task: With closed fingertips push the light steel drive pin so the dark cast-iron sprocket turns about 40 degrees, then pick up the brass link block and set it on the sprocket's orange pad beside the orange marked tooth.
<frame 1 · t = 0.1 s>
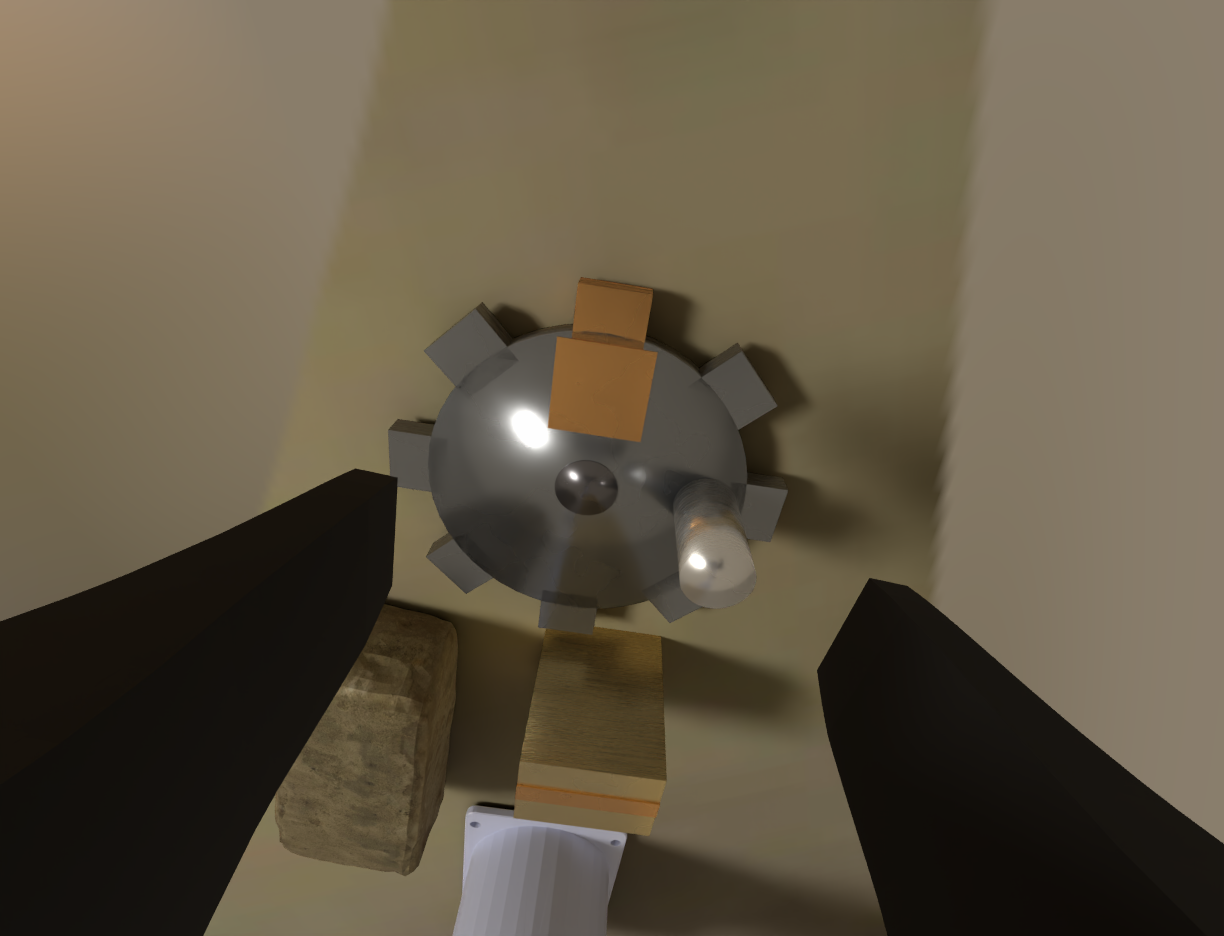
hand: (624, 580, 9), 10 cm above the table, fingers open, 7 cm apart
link: (599, 654, 24), on the table
stone block: (395, 685, 26), on the table
sprocket: (582, 512, 17), point 3 cm above the table, hinge at 0.0°
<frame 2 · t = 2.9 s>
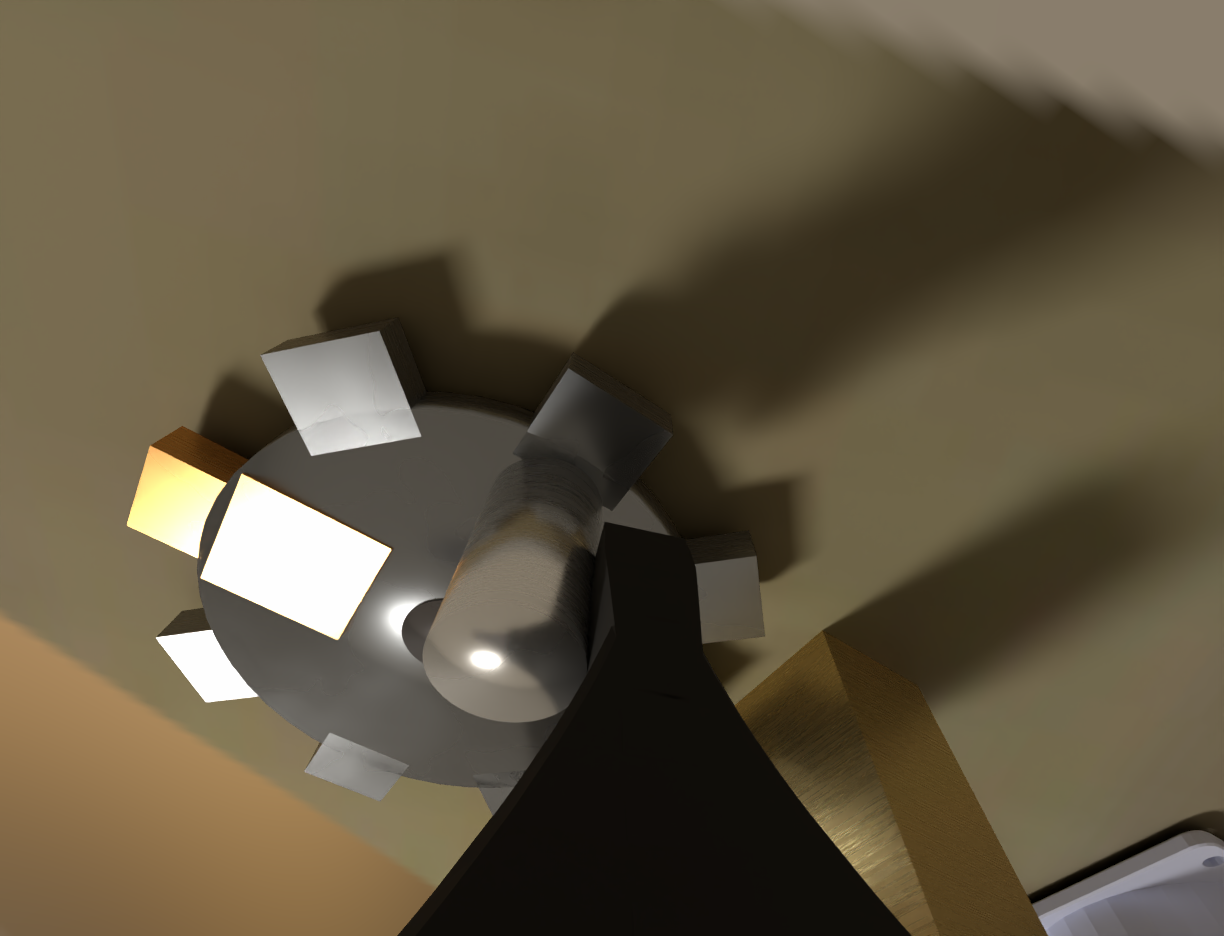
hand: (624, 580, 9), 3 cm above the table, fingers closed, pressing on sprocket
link: (803, 711, 14), on the table
sprocket: (430, 693, 11), point 3 cm above the table, hinge at 0.1°, touching gripper
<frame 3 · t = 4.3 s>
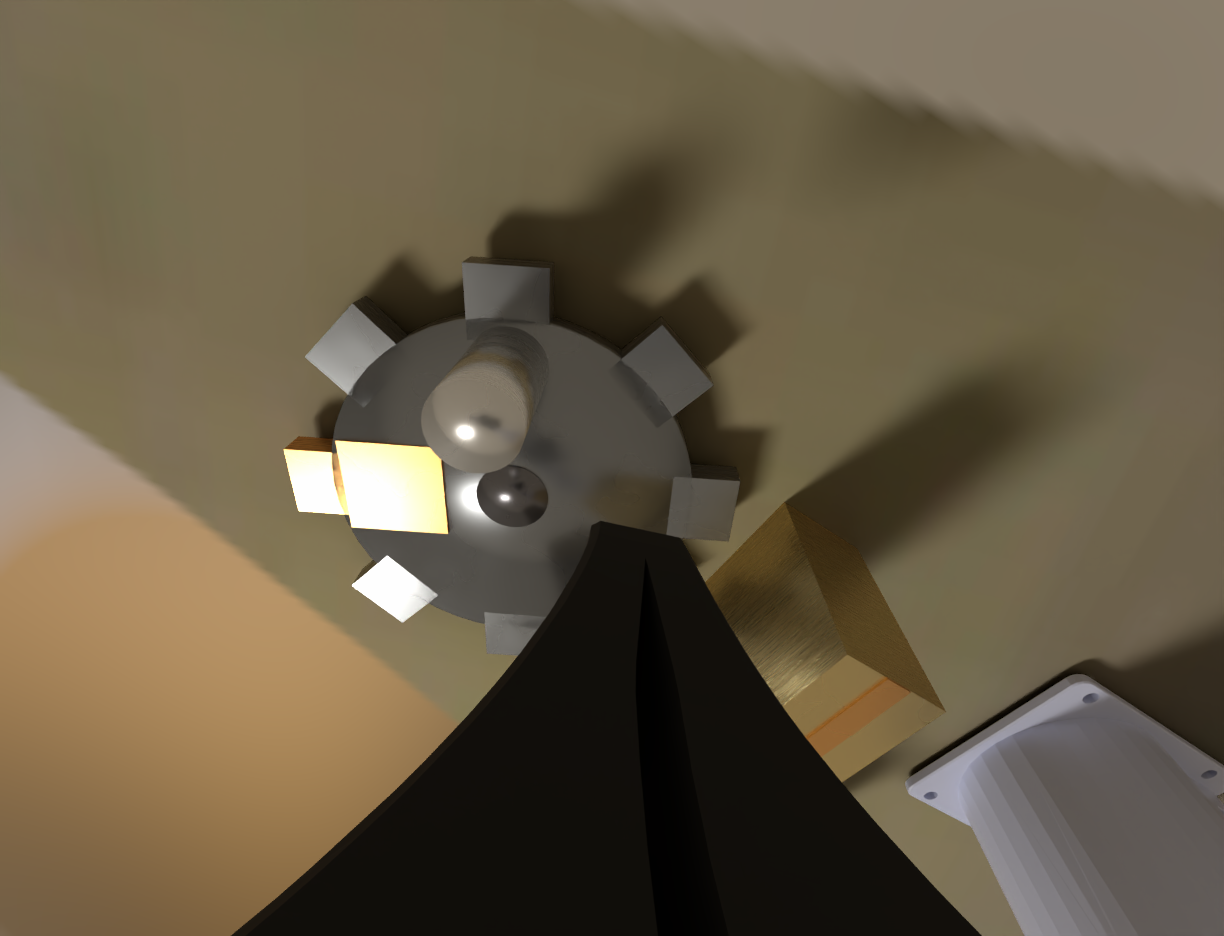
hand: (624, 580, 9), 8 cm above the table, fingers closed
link: (772, 572, 19), on the table
sprocket: (502, 525, 15), point 3 cm above the table, hinge at 30.5°
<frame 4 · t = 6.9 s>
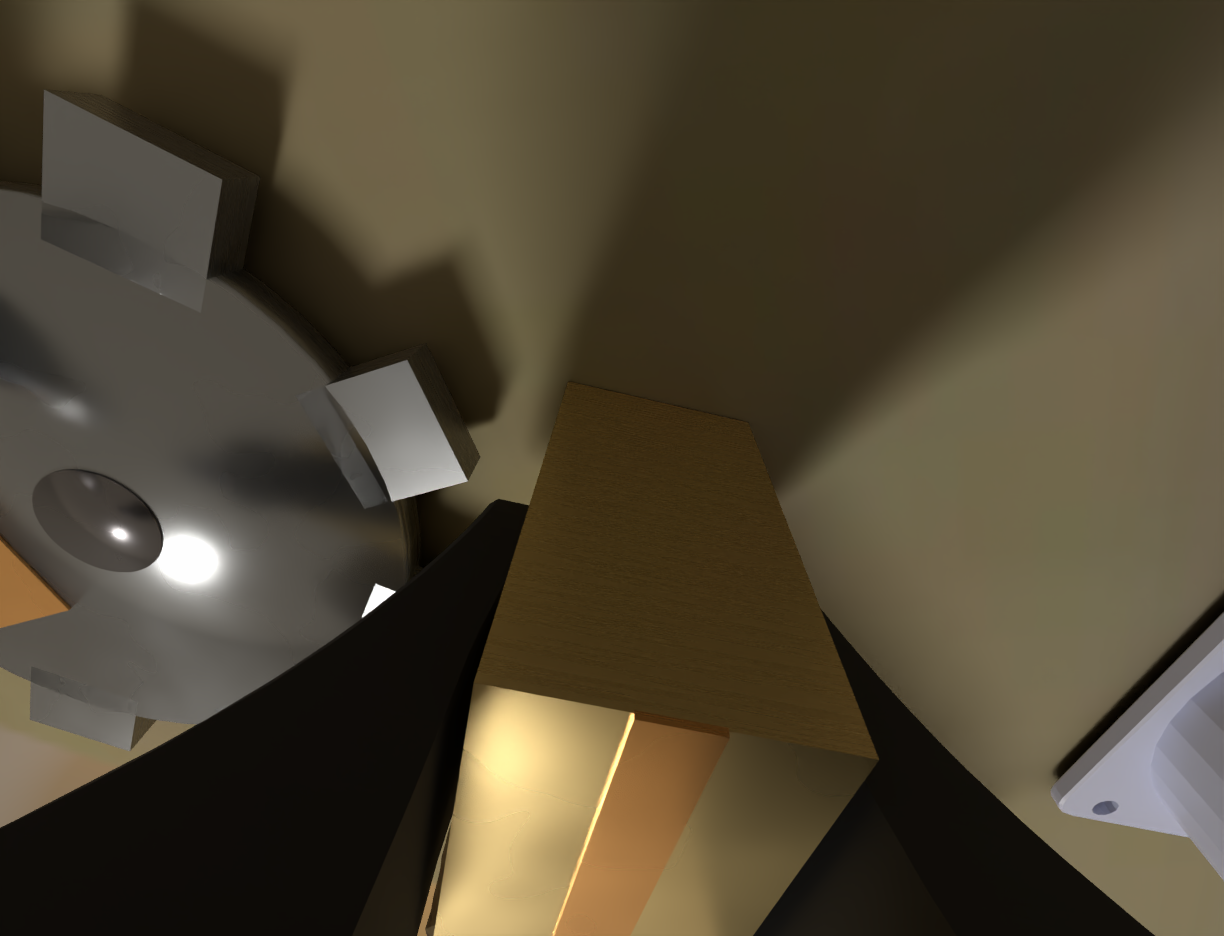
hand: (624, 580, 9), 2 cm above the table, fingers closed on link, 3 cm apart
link: (626, 515, 11), on the table, touching gripper
stone block: (684, 819, 16), on the table
sprocket: (20, 577, 8), point 3 cm above the table, hinge at 30.5°
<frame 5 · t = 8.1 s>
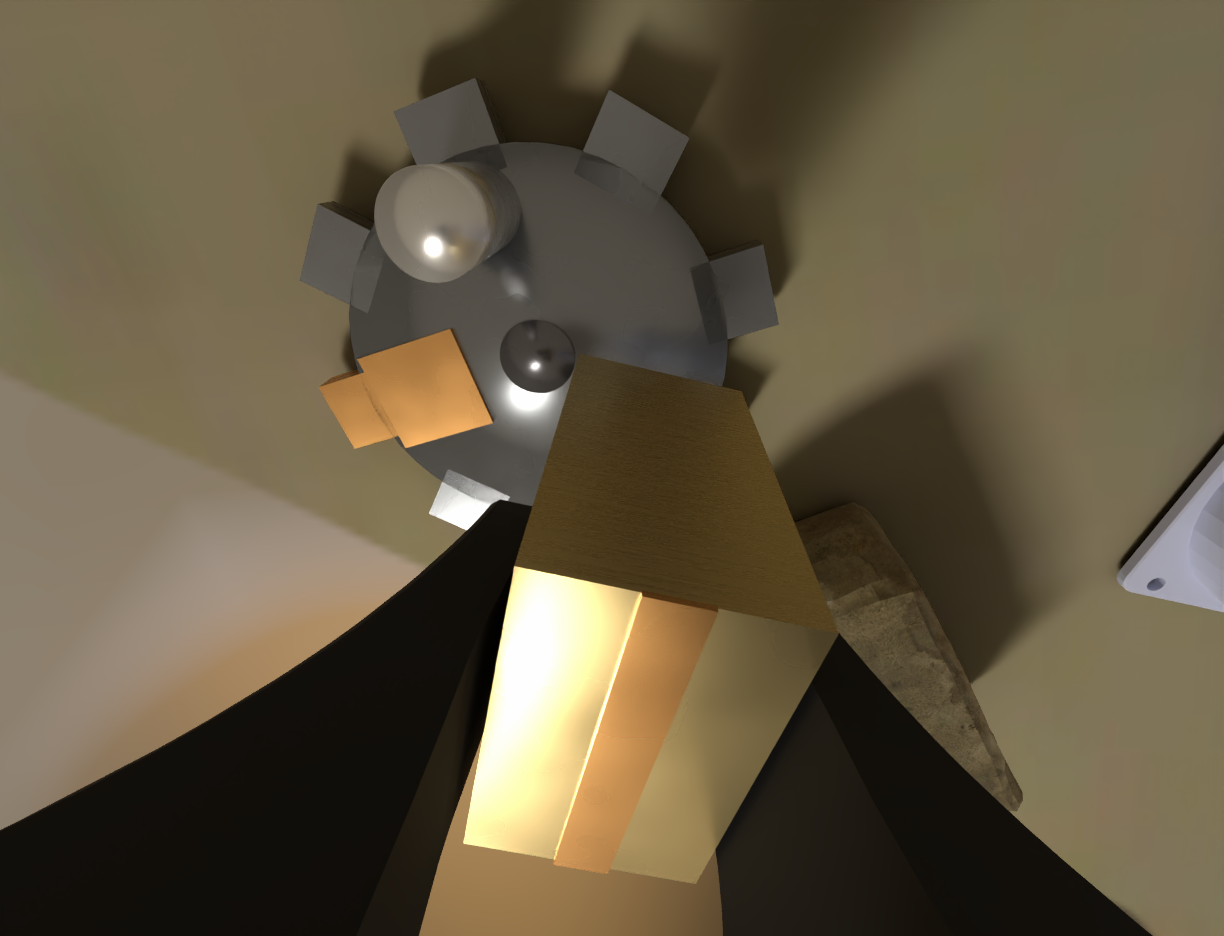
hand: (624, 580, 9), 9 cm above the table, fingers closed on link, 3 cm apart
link: (631, 477, 12), point 6 cm above the table, touching gripper
stone block: (838, 621, 21), on the table
sprocket: (527, 375, 14), point 3 cm above the table, hinge at 30.5°
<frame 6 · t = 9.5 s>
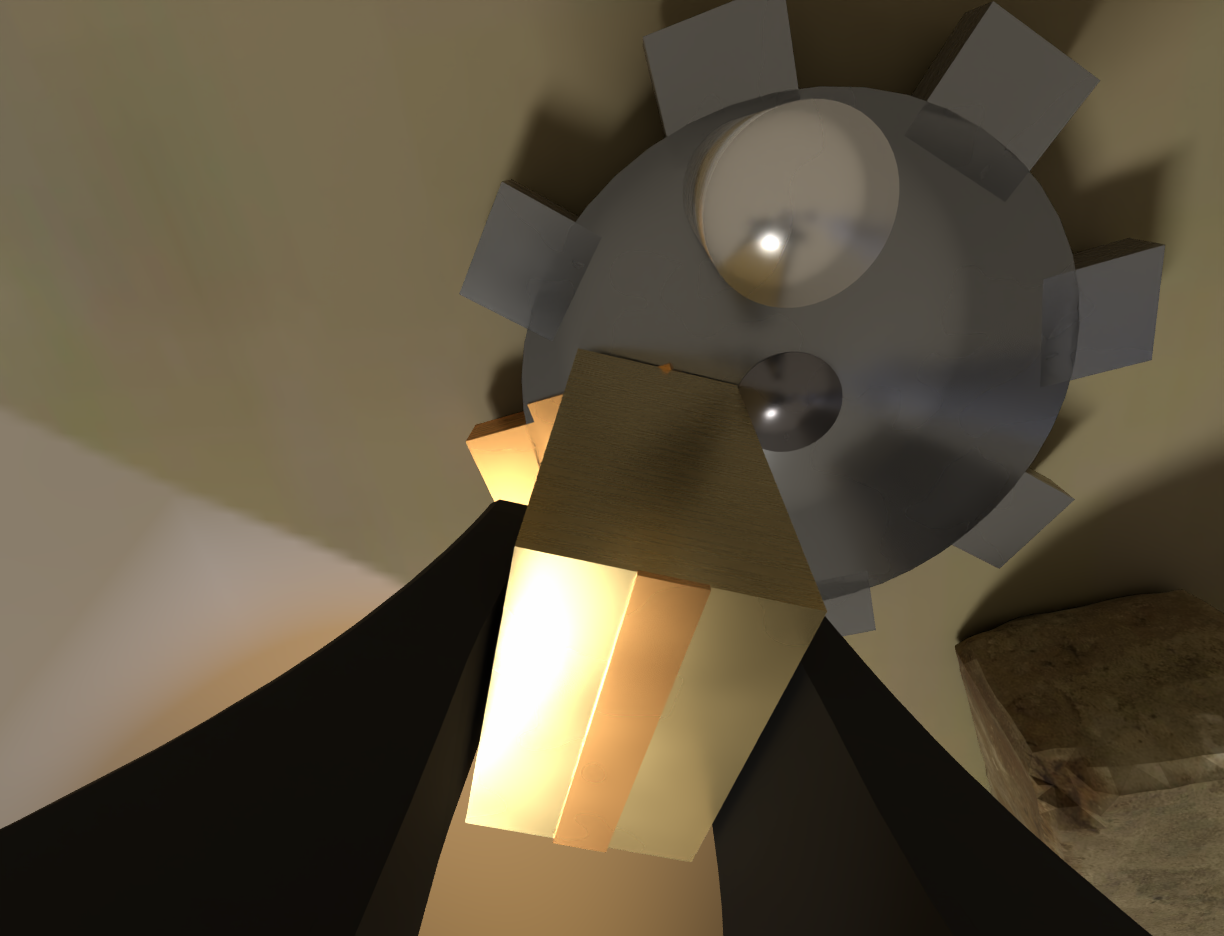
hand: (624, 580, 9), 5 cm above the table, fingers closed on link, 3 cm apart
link: (629, 471, 12), point 1 cm above the table, touching gripper, sprocket
stone block: (1069, 723, 17), on the table
sprocket: (805, 435, 10), point 3 cm above the table, hinge at 30.5°, touching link
when the fingers open (5 cm above the table, at t = 9.5 s): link stays where it is, resting on sprocket.
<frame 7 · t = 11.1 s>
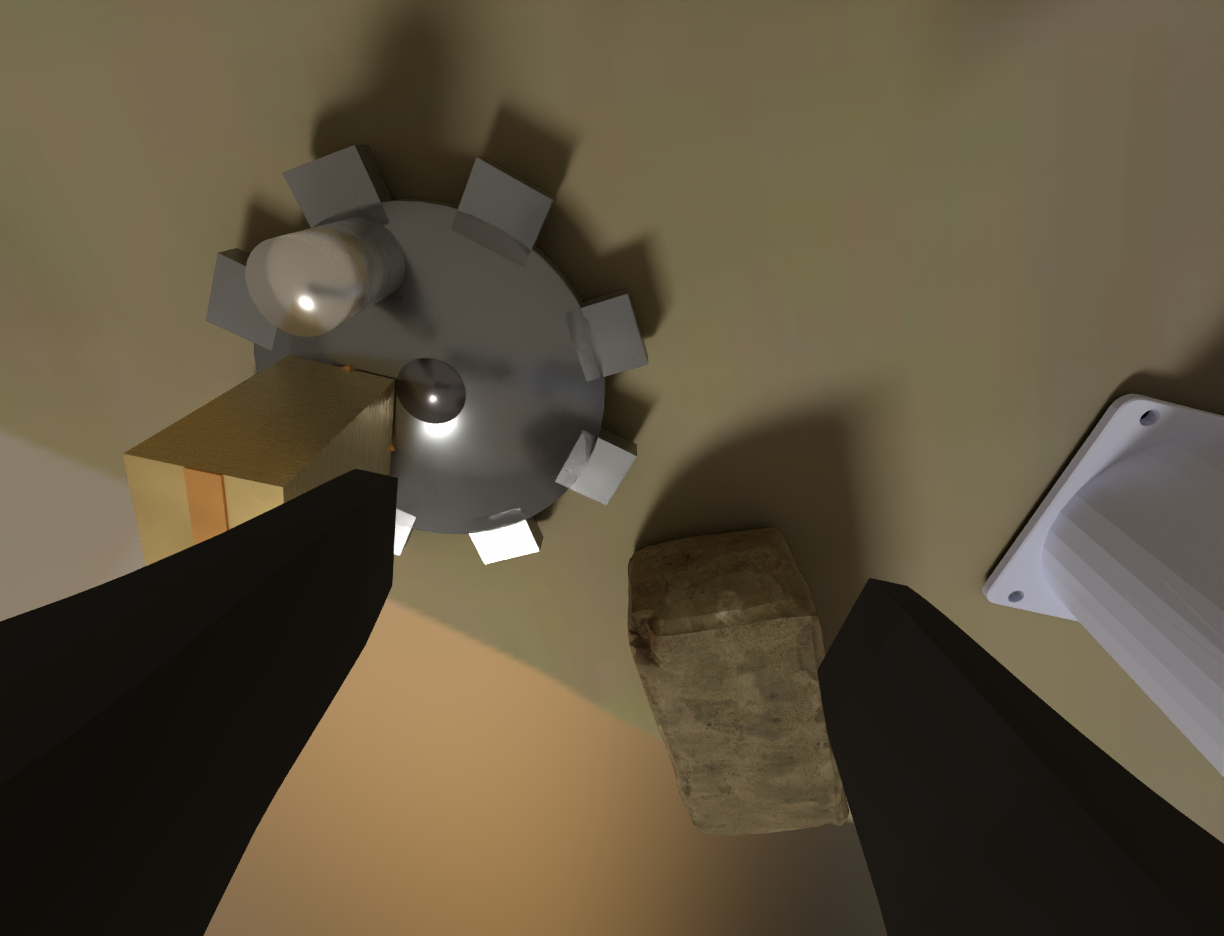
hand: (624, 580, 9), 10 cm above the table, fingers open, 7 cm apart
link: (341, 437, 18), point 1 cm above the table, touching sprocket
stone block: (729, 633, 23), on the table
sprocket: (415, 410, 16), point 3 cm above the table, hinge at 30.5°, touching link
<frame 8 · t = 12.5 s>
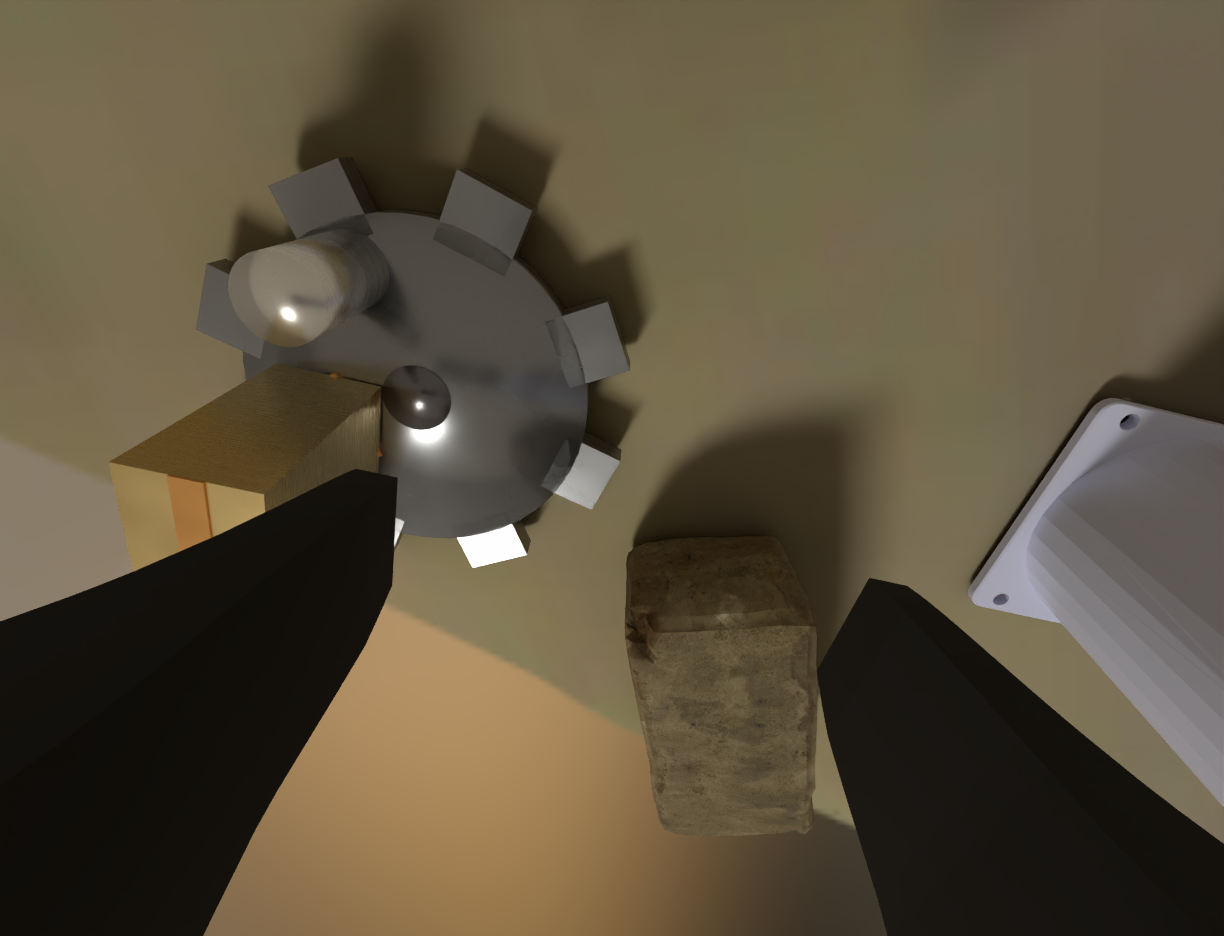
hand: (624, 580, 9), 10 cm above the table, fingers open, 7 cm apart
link: (330, 443, 18), point 1 cm above the table, touching sprocket
stone block: (713, 636, 23), on the table
sprocket: (399, 417, 16), point 3 cm above the table, hinge at 30.5°, touching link
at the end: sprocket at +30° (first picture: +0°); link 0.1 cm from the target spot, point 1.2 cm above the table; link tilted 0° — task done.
